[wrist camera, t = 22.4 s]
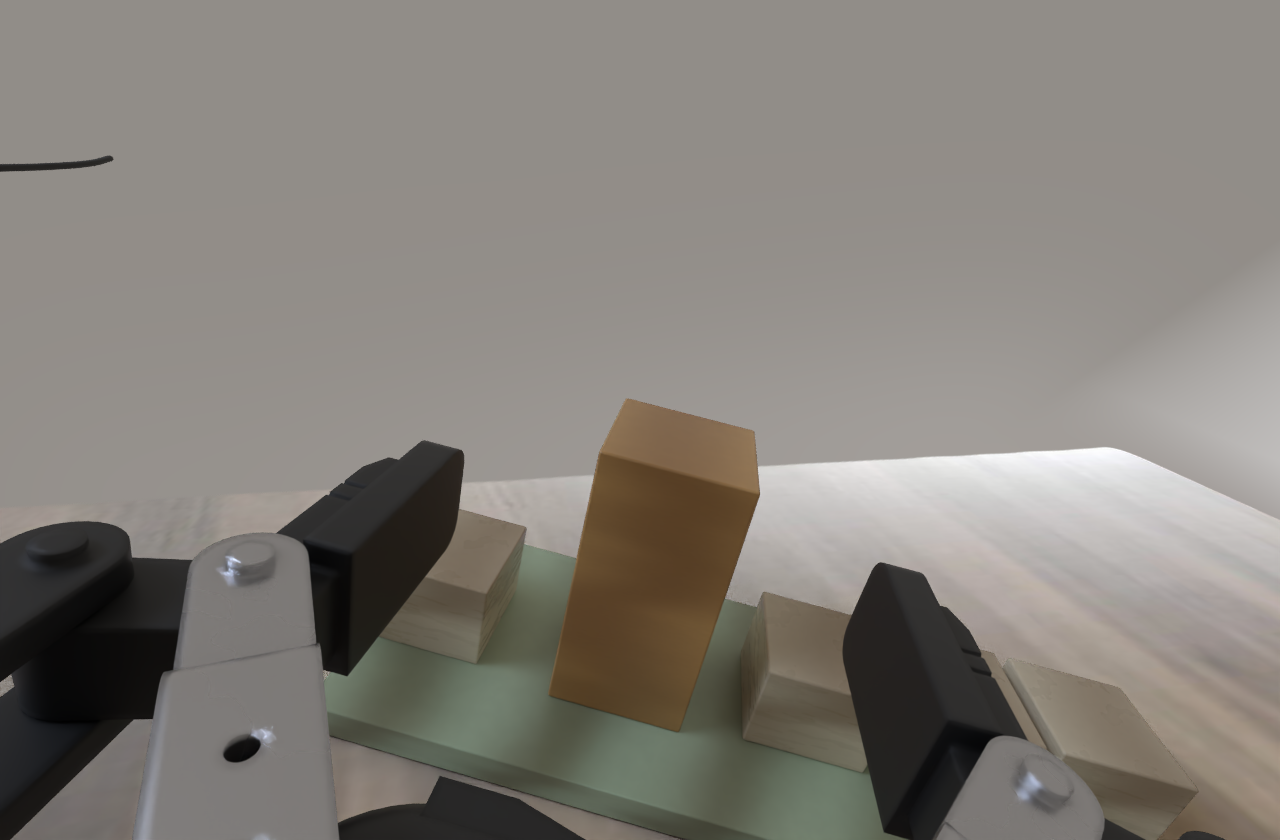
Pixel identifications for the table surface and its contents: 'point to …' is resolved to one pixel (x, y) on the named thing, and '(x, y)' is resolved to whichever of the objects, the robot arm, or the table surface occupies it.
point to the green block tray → (689, 711)
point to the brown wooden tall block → (654, 562)
